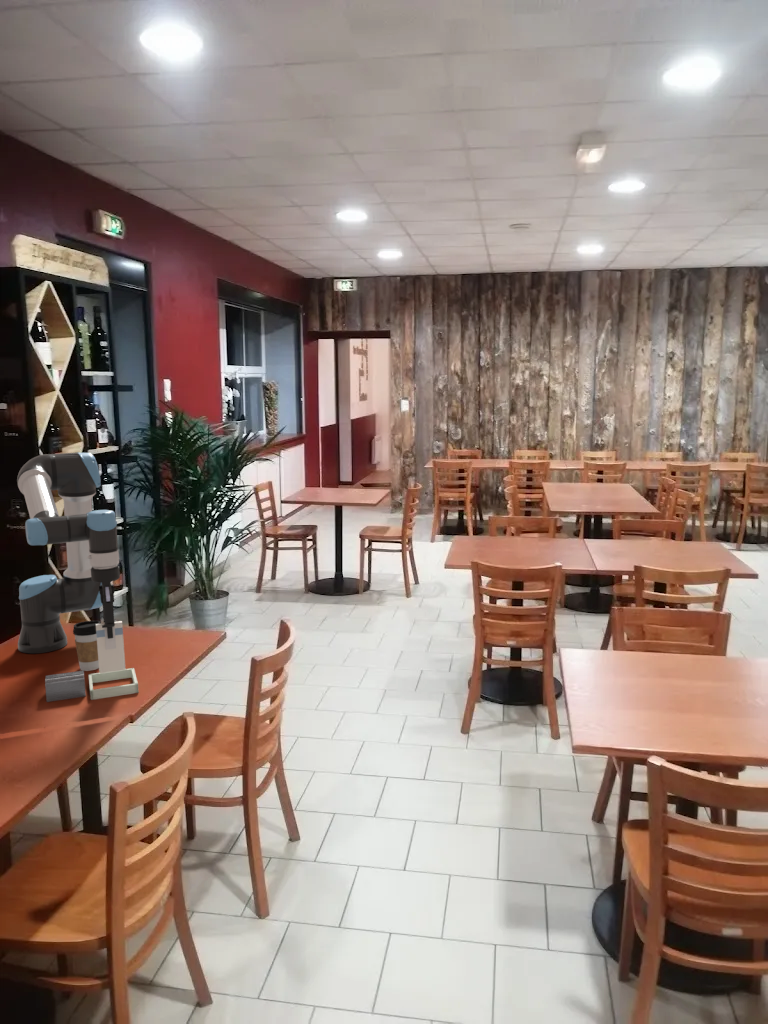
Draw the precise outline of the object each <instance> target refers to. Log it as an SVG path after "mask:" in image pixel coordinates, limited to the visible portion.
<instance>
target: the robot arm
mask: <svg viewBox="0 0 768 1024" xmlns="http://www.w3.org/2000/svg"><path fill="white" fill-rule="evenodd" d="M16 482H17V487H18V489H19V491H20V493H21V494H22V495H23V496H24V499H25V503H26V507H27V511H28V514H29V515H28V516H29V518H28V519H27V520H25V524H24V526H25V537H26V541H27V544H28V545H30V546H45V545H55V544H63V543H64V544H65V545H66V558H67V559H66V560H67V562H66V563H67V567H66V569H65V570H64V571H63V577H62V578H58V577H57V575H56V574H43V575H38V576H34V577H31V578H28V579H26V580H23V582H21V583H20V585H19V586H18V587H19V588H18V592H19V596H18V599H19V604H20V605H19V607H20V617H21V629H20V634H19V637H18V641H17V649H18V651H19V652H21V653H24V654H43V653H49V652H55V651H57V650H60V649H62V648H64V647H66V646H67V645H68V637H67V634H66V631H65V629H64V627H63V625H62V623H61V620H60V619H61V617H60V616H61V614H68V613H73V612H74V613H75V612H80V611H81V612H82V611H90V610H93V609H99V608H101V607H102V615H103V616H102V619H103V623H105V624H104V625H102V628H104V630H105V644H106V650H107V649H115V648H116V639H115V623H114V622H117V620H116V619H115V614H114V603H115V586H114V584H112V582H115V581H117V580H119V579H120V577H121V573H120V566H119V564H120V556H119V555H120V554H119V548H118V546H119V545H118V529H117V526H118V521H117V518H116V512H115V511H114V510H109V509H98V510H97V509H95V510H93V506H92V505H93V504H92V498H93V497H94V496H95V495H96V494H97V489H96V488H100V487H101V486H102V485H101V484H102V483H101V474H100V469H99V466H98V462H97V460H96V457H95V456H94V455H93V454H92V453H91V452H67V453H66V452H64V453H51V454H50V453H48V454H46V453H44V454H39V455H37V456H34V457H32V458H31V459H29V460H28V461H27V462H26V463H25V464H23V465H22V467H20V470H19V472H18V475H17V479H16ZM52 491H57V494H58V495H57V496H59V497H60V498H62V501H63V511H64V515H61V516H60V514H59V511H58V508H57V506H56V502H55V499H54V495H53V493H52Z"/></svg>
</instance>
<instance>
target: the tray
mask: <svg viewBox="0 0 768 1024" xmlns="http://www.w3.org/2000/svg"><path fill="white" fill-rule="evenodd" d="M125 669H126V670H121V671H114V672H106V673H99V672H96V673H95V672H93V673H88V684H89V685H88V686H89V696H90V700H91V701H93V700H100V699H105V698H112V697H119V696H124V695H125V696H126V695H132V694H139V691H140V689H139V682H138V678H137V675H136V670H135V668H134V667H131V668H125ZM129 678H131V680H132V683H130V684H129V683H128V684H123V685H122V684H121V685H116V686H115V685H114V686H109V687H102V688H101V687H100V688H96V689H94V686H93V685H94V684H95V683H104V682H108V681H109V682H110V681H115V680H123V679H129Z"/></svg>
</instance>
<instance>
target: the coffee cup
mask: <svg viewBox="0 0 768 1024" xmlns="http://www.w3.org/2000/svg"><path fill="white" fill-rule="evenodd" d="M100 623H102V622H101V620H84V621H80V622H76V623H75V624H73V630H72V634H73V635H74V644H75V648H76V655H77V659H78V666H79V670H80V671H83V670H84V672H89V671H94V670H99V662H98V649H97V635H96V624H100Z"/></svg>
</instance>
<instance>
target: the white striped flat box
mask: <svg viewBox="0 0 768 1024" xmlns="http://www.w3.org/2000/svg"><path fill="white" fill-rule="evenodd" d="M114 623H115V639H116V648H115V649H107V650H106V644H105V630H104V628H102V625H104V624H105V623H104V622H101V623H100V624H96V635H97V649H98V662H99V668H98V673H106V672H114V671H121V670H126V669H127V668H126V657H125V656H126V655H125V644H124V643H125V642H124V628H123V626H124V625H123V621H122V620H119V621H117V620H116V622H114Z"/></svg>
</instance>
